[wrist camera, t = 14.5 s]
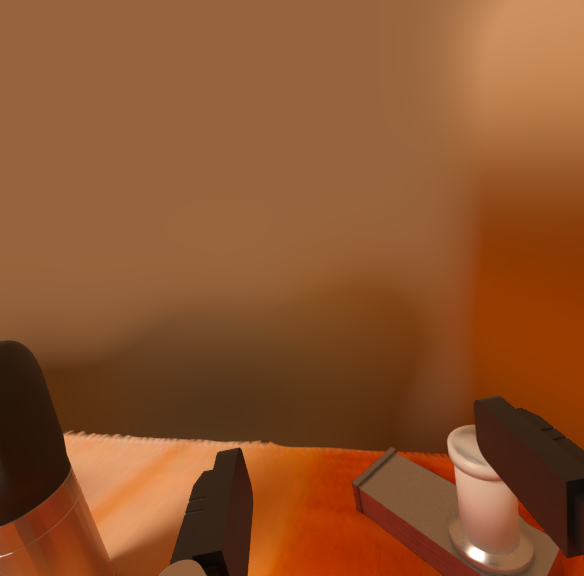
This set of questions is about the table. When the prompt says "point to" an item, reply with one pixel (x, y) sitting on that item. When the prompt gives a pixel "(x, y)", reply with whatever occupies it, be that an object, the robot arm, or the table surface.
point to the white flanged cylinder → (482, 497)
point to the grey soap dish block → (443, 523)
